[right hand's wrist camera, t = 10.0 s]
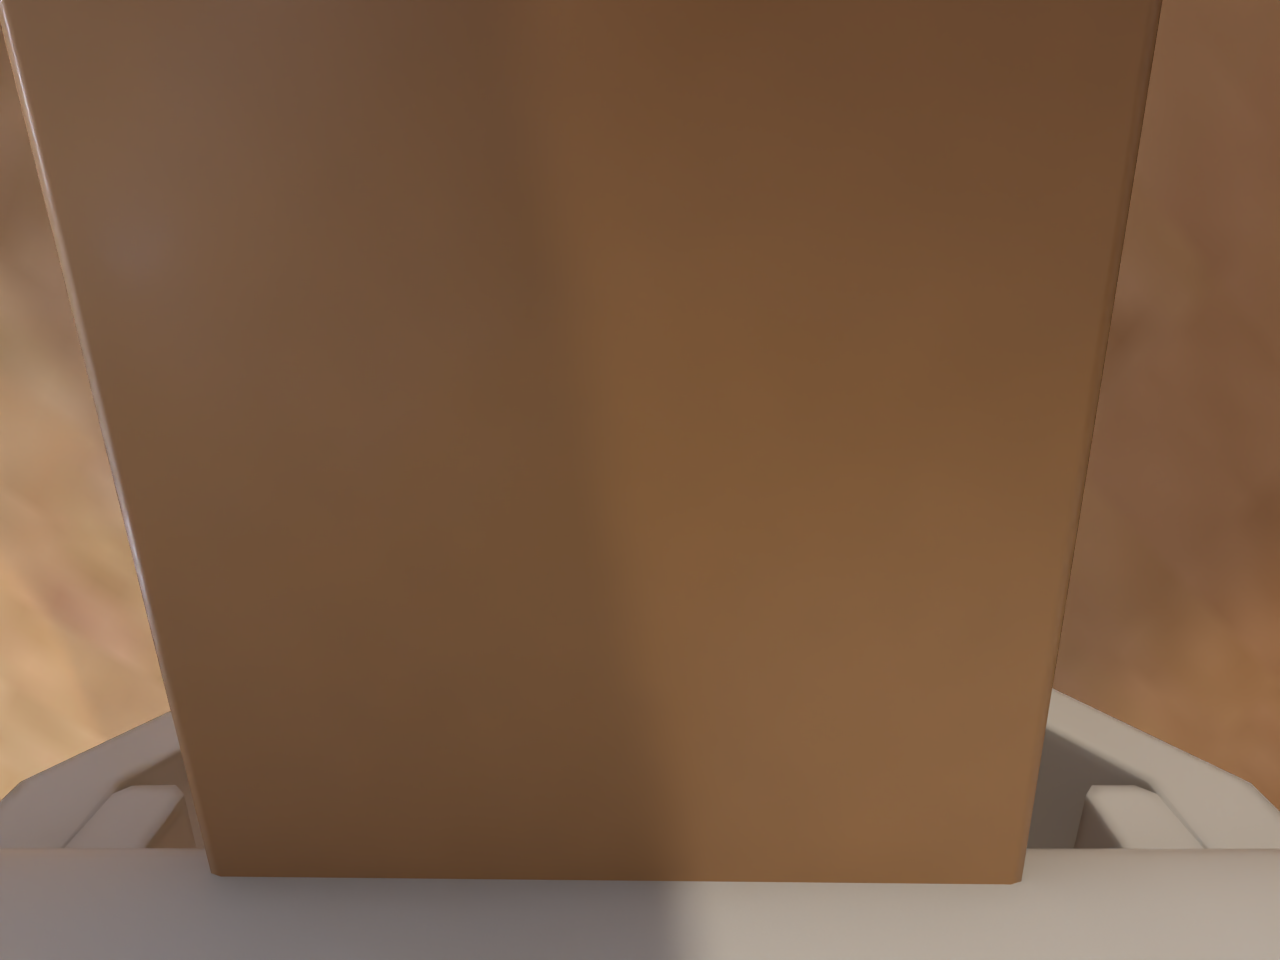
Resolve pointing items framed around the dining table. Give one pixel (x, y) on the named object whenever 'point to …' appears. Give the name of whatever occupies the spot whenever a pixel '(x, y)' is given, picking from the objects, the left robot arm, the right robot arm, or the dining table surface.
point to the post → (597, 413)
